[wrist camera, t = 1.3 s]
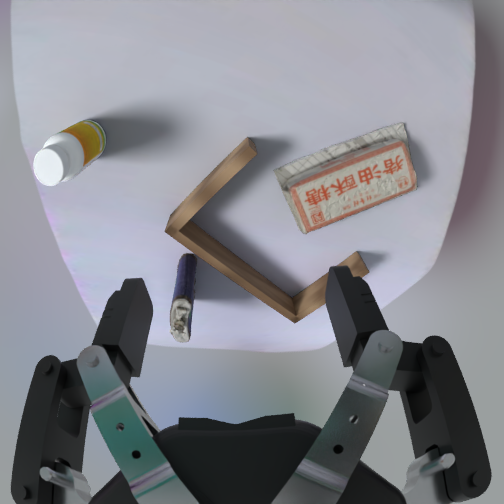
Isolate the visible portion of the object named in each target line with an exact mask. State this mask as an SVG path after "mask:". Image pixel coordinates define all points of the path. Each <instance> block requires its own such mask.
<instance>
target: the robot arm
mask: <svg viewBox="0 0 504 504" xmlns="http://www.w3.org/2000/svg"><path fill="white" fill-rule="evenodd" d="M375 301H376V300H375V298H374V296H373V295H372V292H371V290H370V287H369V285H368V284H367V283H366V282H365V281H364V280H363V279H362V278H361V277H360V276H356V277H353V275H352V273H351V271H350V268H349V267H348V266H347V265H344V266H332V267H330V268H329V273H328V280H327V285H326V291H325V302H326V307H327V310H328V313H329V317H330V320H331V323H332V327H333V330H334V333H335V337H336V340H337V344H338V347H339V351H340V354H341V358H342V362H343V365H344V367H350V366H352V367H353V371H354V372H353V374H352V376H351V378H350V380H349V382H348V384H347V386H346V388H345V390H344V391H343V394H342V395H341V397H340V399H339V401H338V403H337V404H336V406H335V408H334V410H333V412H332V413H331V415H330V417H329V419H328V421H327V422H326V424H325V425H324V427H323V429H321V428H320V427H318V426H316V425H314V424H311V423H309V422H305V421H301V420H295V416H294V413H291V414H282V415H271V416H264V417H260V418H257V419H254V420H250V421H247V422H243V423H240V424H230V423H226V422H221V421H217V420H212V419H208V418H181V417H180V418H179V424H176V425H173V426H170V427H167V428H165V429H163V430H162V431H160V430H159V428H158V427H157V426H156V424H155V423H154V422H153V420H152V419H151V418H150V416H149V415H148V413H147V412H146V410H145V409H144V407H143V405H142V404H141V402H140V400H139V398H138V397H137V395H136V393H135V392H134V390H133V388H132V386H131V385H130V379H131V377H140V373H141V368H142V363H143V358H144V353H145V348H146V343H147V339H148V334H149V330H150V325H151V321H152V317H153V305H152V301H151V299H150V296H149V293H148V291H147V288H146V286H145V283H144V280H143V279H142V278H130V279H125V280H124V282H123V285H122V287H121V290H120V291H115V292H114V293H113V294H112V296H111V297H110V298H109V299H108V302H107V304H106V307H105V310H104V312H103V315H102V318H101V320H100V323H99V326H98V328H97V331H96V334H95V338H94V340H93V343H92V345H91V346H89V347H87V348H85V349H84V350H83V351H82V352H81V353H80V354H79V356H78V358H77V359H73V360H69V361H65V362H61V361H60V360H59V359H58V358H57V357H55V356H52V355H49V356H46V357H44V358H42V359H41V360H40V361H39V362H38V364H37V366H36V368H35V372H34V375H33V378H32V381H31V385H30V388H29V392H28V396H27V399H26V403H25V407H24V411H23V415H22V420H21V424H20V429H19V434H18V439H17V444H16V451H15V456H14V464H13V471H12V481H11V494H12V497H13V499H14V501H15V502H16V504H455V503H459V502H463V501H466V500H469V499H472V498H476V497H478V496H480V495H481V494H483V493H484V492H485V491H486V490H487V488H488V486H489V484H490V481H491V468H490V463H489V459H488V455H487V450H486V447H485V443H484V439H483V435H482V432H481V428H480V425H479V422H478V418H477V415H476V412H475V409H474V406H473V403H472V400H471V397H470V394H469V391H468V389H467V386H466V383H465V380H464V378H463V375H462V372H461V370H460V368H459V365H458V363H457V360H456V358H455V355H454V353H453V351H452V348H451V346H450V344H449V343H448V342H447V341H446V340H445V339H444V338H442V337H440V336H430V337H427V338H426V339H425V340H424V341H423V343H412V342H405V341H401V339H400V337H399V336H398V335H397V334H395V333H393V332H391V331H389V329H388V327H387V325H386V323H385V320H384V318H383V316H382V314H381V312H380V309H379V307H378V305H377V302H375ZM388 390H394V391H400V395H401V398H402V402H403V406H404V410H405V414H406V418H407V423H408V427H409V431H410V436H411V440H412V445H413V450H414V454H415V460H414V461H413V462H412V463H411V464H410V465H409V467H408V470H407V480H406V485H405V487H404V488H403V490H402V491H400V490H399V489H398V488H396V487H395V486H394V485H392V484H391V483H389V482H388V481H387V480H386V479H384V478H383V477H382V476H380V475H379V474H378V473H376V472H375V471H374V470H372V469H371V468H370V467H368V466H367V465H366V464H365V463H363V462H362V461H361V460H360V458H361V456H362V454H363V452H364V450H365V448H366V446H367V444H368V442H369V440H370V438H371V436H372V434H373V432H374V430H375V427H376V425H377V423H378V421H379V418H380V416H381V414H382V411H383V409H384V407H385V404H386V402H387V399H388V395H389V394H388ZM60 401H61V402H60ZM59 405H60V406H59ZM90 405H92V406H90ZM58 410H59V411H58ZM89 410H91V413H92V416H93V417H94V420H95V422H96V424H97V426H98V428H99V430H100V432H101V434H102V437H103V439H104V440H105V442H106V444H107V446H108V448H109V450H110V452H111V454H112V456H113V457H114V459H115V461H116V463H117V465H118V466H119V468H120V471H119V472H118V473H117V474H116V475H115V476H114V477H113V478H112V479H111V480H110V481H109V482H108V483H107V484H106V485H105V486H104V487H103V488H102V489H101V490H100V491H99V492H97V493H96V494H95V495H94V496H93V497H91V495H90V486H89V485H88V482H87V479H86V478H85V476H84V475H83V474H82V464H83V454H84V445H85V437H86V429H87V423H88V416H89ZM57 415H58V416H57Z"/></svg>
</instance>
